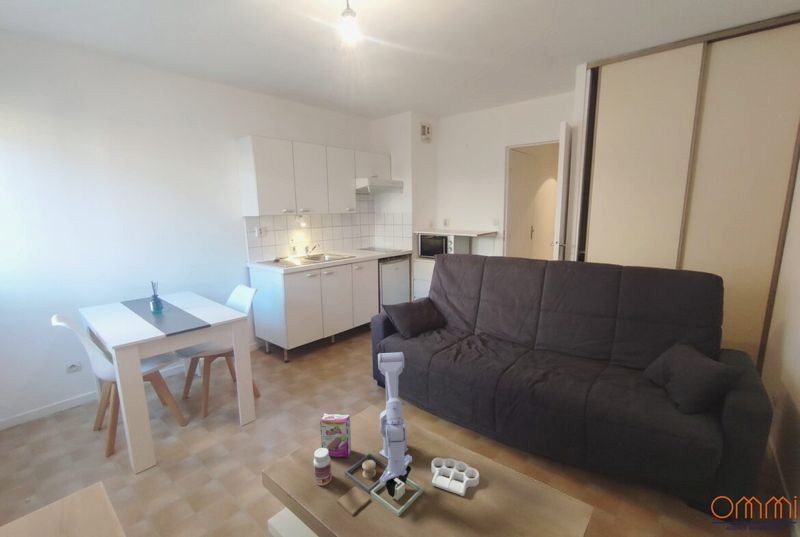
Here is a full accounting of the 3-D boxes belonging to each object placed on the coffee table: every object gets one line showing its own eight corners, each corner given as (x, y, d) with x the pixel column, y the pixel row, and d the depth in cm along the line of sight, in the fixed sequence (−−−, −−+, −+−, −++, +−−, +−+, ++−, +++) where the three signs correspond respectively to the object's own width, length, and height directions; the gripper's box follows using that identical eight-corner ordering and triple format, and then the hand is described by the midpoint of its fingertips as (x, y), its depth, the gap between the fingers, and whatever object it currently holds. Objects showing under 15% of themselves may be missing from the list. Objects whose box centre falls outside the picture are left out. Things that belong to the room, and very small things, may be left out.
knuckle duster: (423, 485, 126) (437, 458, 139) (472, 502, 119) (482, 472, 132) (423, 477, 126) (437, 451, 139) (472, 493, 118) (482, 464, 131)
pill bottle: (334, 481, 128) (332, 453, 126) (318, 488, 125) (316, 460, 123) (327, 470, 133) (326, 444, 131) (312, 477, 130) (310, 450, 128)
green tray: (395, 473, 131) (395, 470, 131) (422, 491, 123) (422, 488, 122) (370, 495, 122) (370, 491, 121) (398, 516, 113) (398, 512, 113)
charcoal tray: (369, 456, 140) (369, 453, 140) (393, 472, 132) (393, 468, 132) (344, 475, 131) (344, 471, 131) (368, 493, 122) (368, 489, 122)
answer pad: (354, 488, 125) (354, 486, 125) (370, 500, 120) (370, 498, 119) (337, 502, 119) (337, 500, 119) (352, 515, 114) (352, 513, 114)
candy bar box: (321, 457, 140) (319, 420, 137) (325, 448, 145) (323, 412, 142) (349, 458, 139) (347, 421, 136) (351, 449, 144) (350, 413, 141)
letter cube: (396, 487, 125) (396, 477, 124) (404, 493, 122) (404, 483, 122) (388, 494, 122) (388, 484, 121) (397, 500, 119) (397, 490, 119)
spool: (369, 467, 135) (369, 457, 134) (378, 473, 132) (378, 464, 131) (359, 474, 131) (359, 465, 130) (369, 481, 128) (368, 471, 127)
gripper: (390, 473, 111) (391, 510, 114) (418, 449, 122) (418, 483, 125) (374, 463, 116) (375, 498, 119) (403, 441, 127) (403, 473, 129)
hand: (396, 490), depth 122 cm, fingers open, 5 cm apart
